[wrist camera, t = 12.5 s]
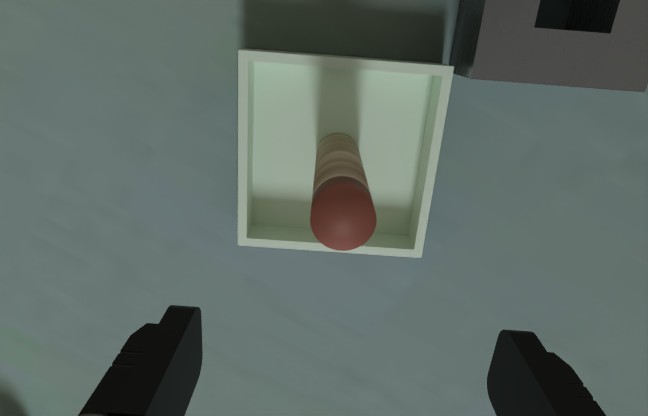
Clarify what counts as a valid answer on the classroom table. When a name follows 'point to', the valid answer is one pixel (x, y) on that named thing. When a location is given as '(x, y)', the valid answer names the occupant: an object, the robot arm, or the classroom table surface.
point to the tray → (337, 117)
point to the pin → (341, 195)
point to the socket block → (554, 44)
